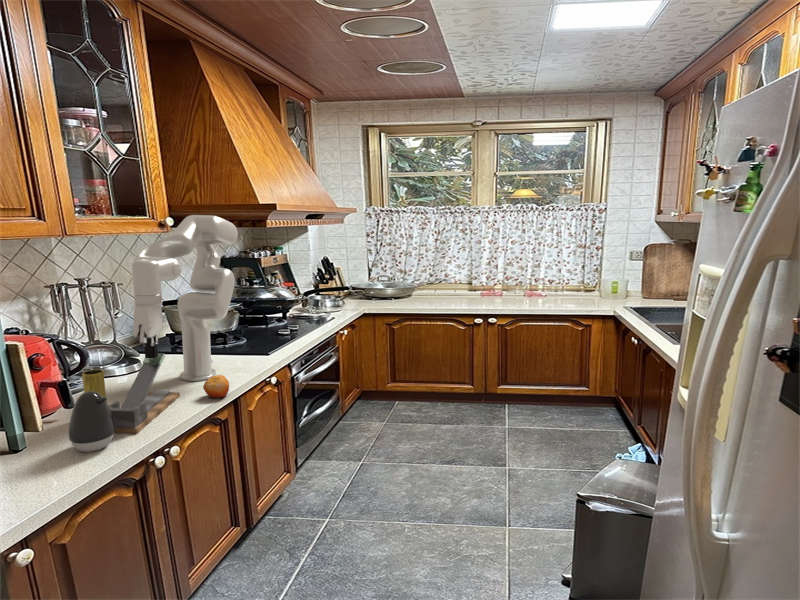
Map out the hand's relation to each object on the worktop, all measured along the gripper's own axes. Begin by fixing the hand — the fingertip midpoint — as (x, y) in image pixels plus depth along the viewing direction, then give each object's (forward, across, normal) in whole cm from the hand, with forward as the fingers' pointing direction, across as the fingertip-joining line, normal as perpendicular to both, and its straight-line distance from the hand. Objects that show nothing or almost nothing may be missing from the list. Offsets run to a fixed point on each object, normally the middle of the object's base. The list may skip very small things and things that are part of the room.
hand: (151, 357), depth 153 cm
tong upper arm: (+7, +6, 0) cm, 9 cm away
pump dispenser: (+16, +29, -2) cm, 33 cm away
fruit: (+16, -8, +17) cm, 25 cm away
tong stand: (+16, +7, 0) cm, 17 cm away
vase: (+16, +11, -12) cm, 23 cm away
